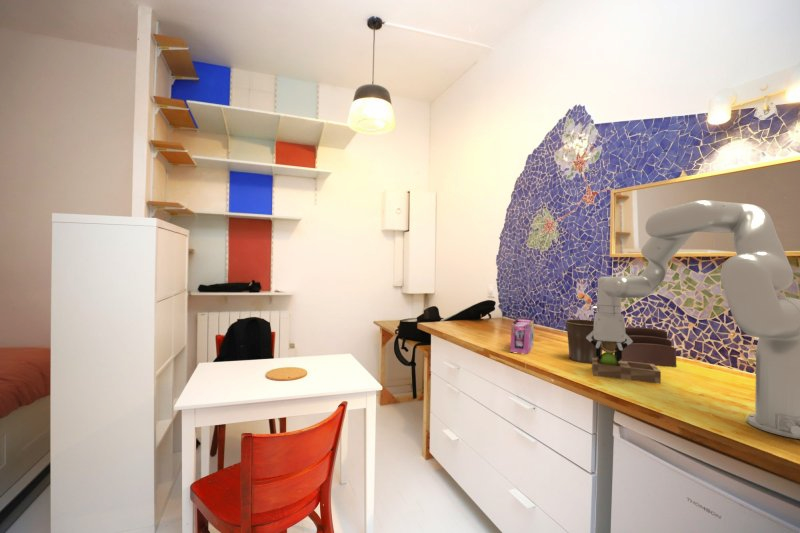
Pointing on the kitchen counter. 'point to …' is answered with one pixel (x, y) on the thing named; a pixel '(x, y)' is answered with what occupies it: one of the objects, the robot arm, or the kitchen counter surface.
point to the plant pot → (580, 340)
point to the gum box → (522, 335)
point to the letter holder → (649, 347)
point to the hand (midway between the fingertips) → (608, 359)
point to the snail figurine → (608, 353)
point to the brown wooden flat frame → (627, 371)
